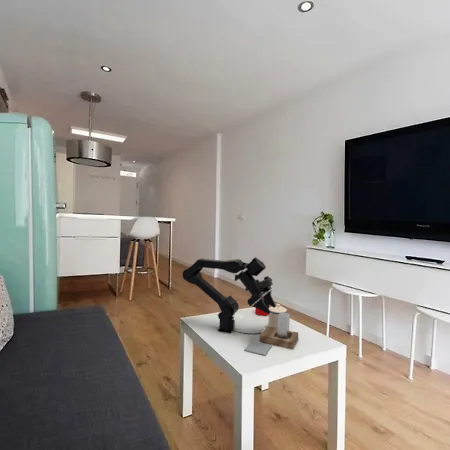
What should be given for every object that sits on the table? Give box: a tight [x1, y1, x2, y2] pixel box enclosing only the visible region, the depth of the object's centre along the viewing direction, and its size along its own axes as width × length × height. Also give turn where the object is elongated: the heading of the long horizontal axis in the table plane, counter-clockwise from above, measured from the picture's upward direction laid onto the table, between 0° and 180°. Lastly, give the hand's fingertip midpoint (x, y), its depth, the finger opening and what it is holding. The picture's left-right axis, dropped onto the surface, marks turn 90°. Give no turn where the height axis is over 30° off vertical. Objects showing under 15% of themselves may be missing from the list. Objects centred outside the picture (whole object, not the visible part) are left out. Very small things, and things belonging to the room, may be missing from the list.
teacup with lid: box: [267, 303, 288, 328], centre depth 142 cm, size 12×9×12 cm
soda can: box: [255, 297, 270, 317], centre depth 160 cm, size 8×8×12 cm
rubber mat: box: [243, 340, 273, 357], centre depth 119 cm, size 9×9×1 cm
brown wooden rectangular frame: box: [259, 326, 299, 350], centre depth 127 cm, size 14×11×3 cm
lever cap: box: [277, 312, 291, 340], centre depth 126 cm, size 4×5×12 cm
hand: (272, 310), depth 127 cm, fingers open, 9 cm apart
